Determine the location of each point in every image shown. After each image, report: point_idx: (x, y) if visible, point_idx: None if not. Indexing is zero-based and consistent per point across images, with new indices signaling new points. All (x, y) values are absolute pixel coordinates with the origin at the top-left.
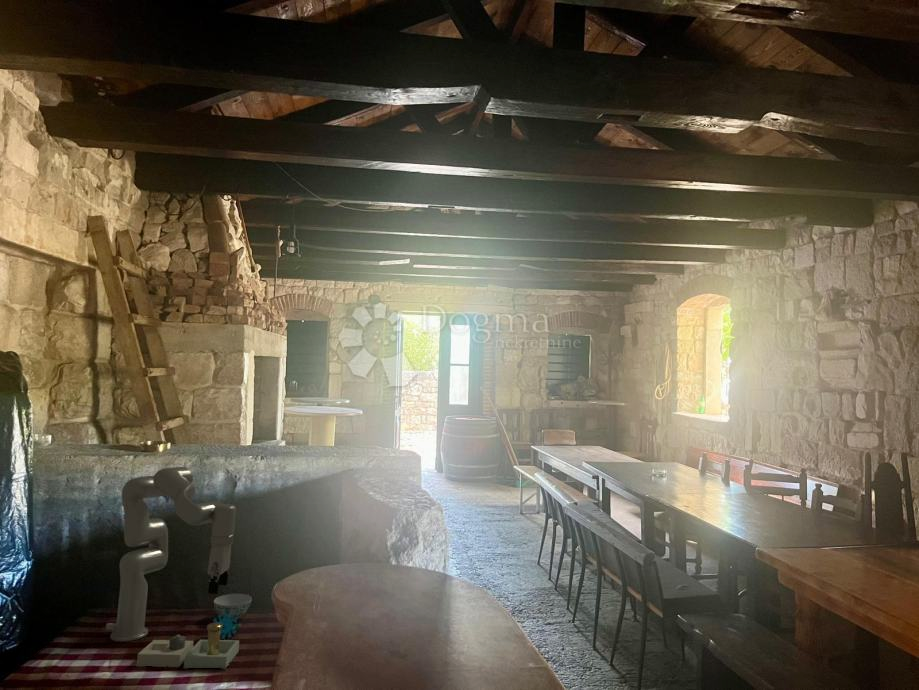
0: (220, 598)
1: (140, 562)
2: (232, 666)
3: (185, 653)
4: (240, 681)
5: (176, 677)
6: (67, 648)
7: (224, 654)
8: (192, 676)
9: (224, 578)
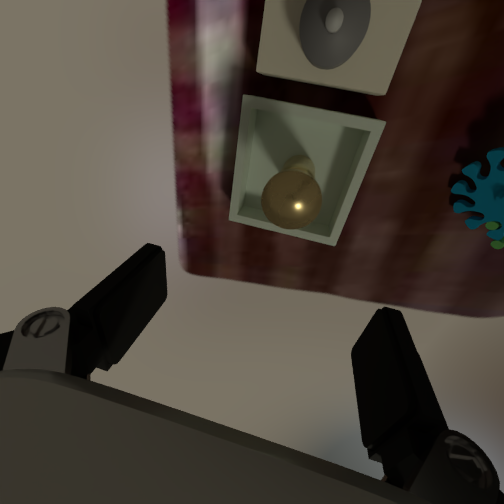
0: None
1: None
2: None
3: (310, 82)
4: (181, 238)
5: (197, 88)
6: None
7: None
8: (203, 134)
9: (367, 392)
